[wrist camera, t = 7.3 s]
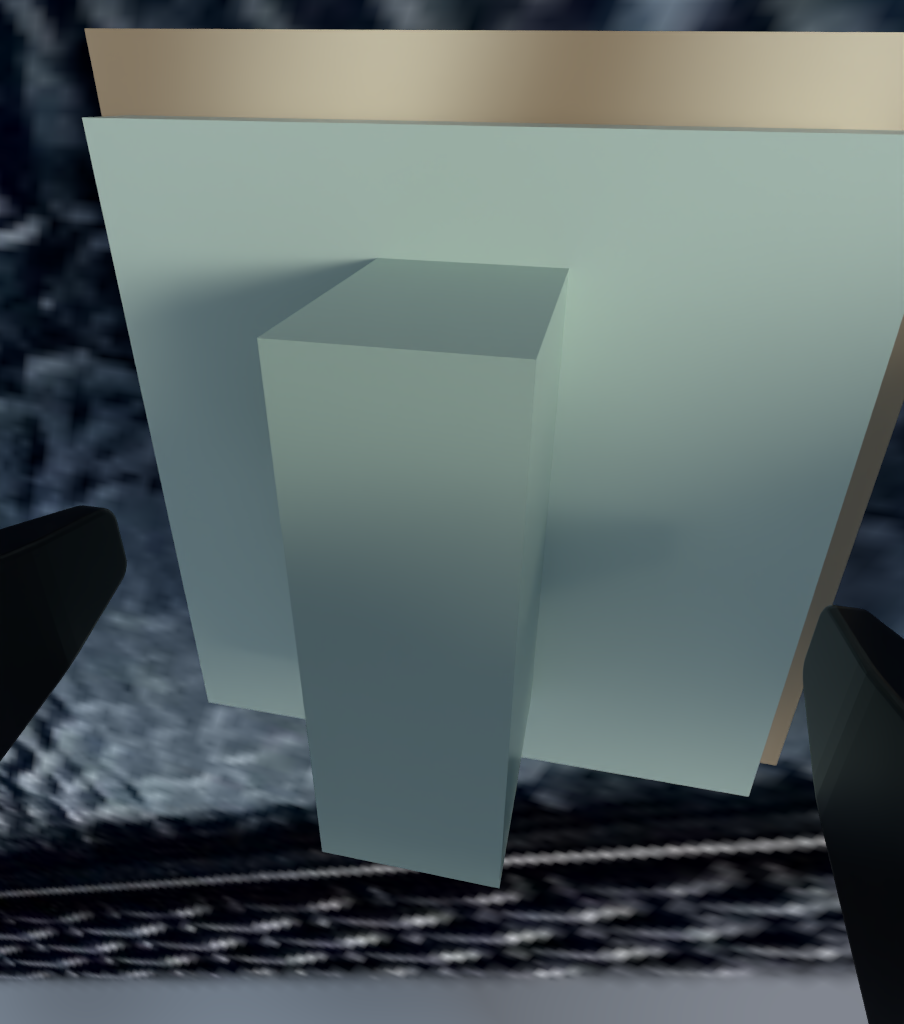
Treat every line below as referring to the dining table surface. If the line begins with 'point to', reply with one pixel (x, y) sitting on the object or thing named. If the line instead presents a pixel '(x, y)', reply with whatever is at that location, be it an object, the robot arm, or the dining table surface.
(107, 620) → the dining table surface
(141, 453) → the dining table surface
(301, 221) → the lid
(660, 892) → the dining table surface
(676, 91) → the board
